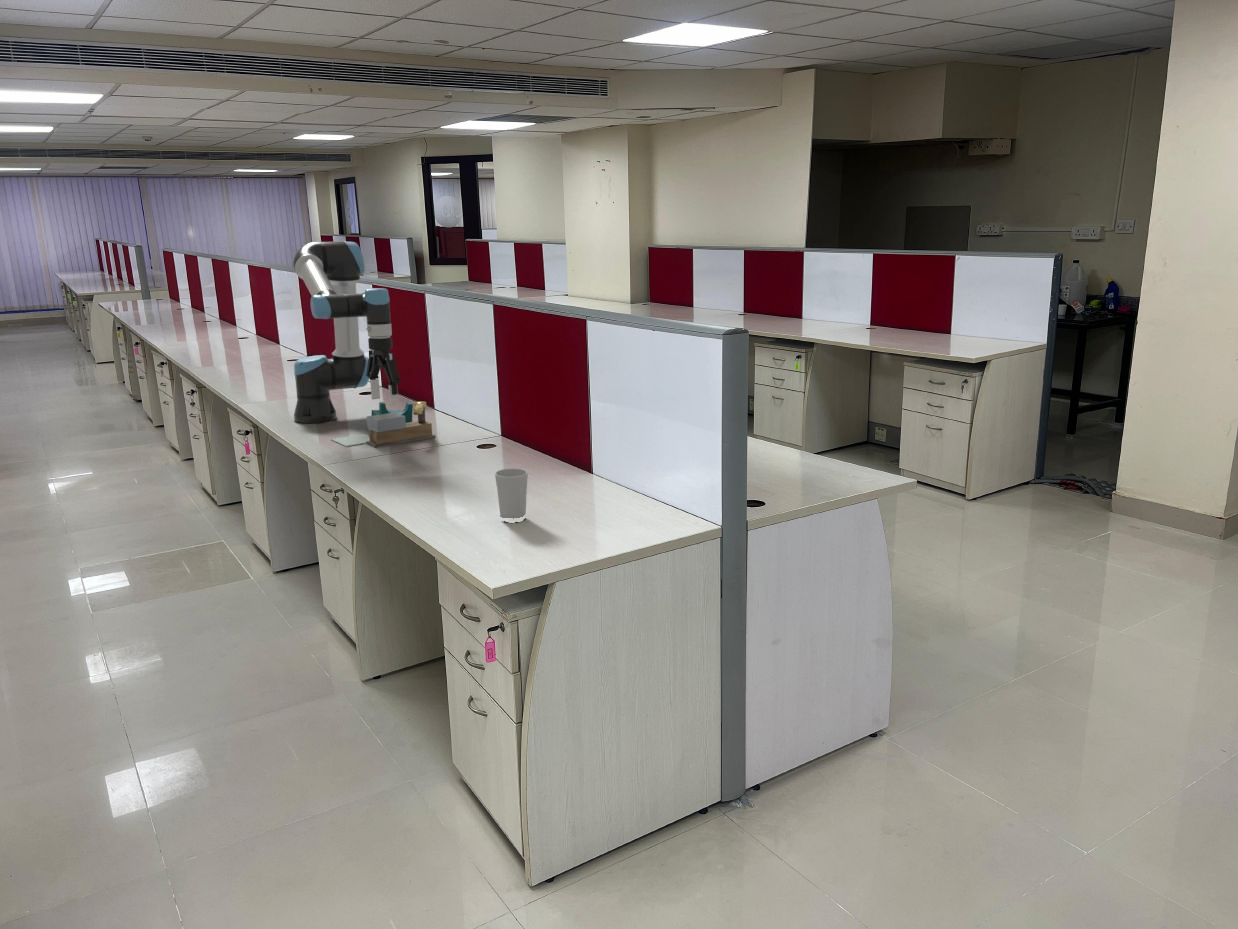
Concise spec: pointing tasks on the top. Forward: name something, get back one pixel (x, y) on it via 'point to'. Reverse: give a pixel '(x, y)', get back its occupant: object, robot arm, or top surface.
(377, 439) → the plane body
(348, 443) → the mat
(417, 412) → the lever
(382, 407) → the teal notched cradle
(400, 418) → the gray rectangular block
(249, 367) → the top surface
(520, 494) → the cup
